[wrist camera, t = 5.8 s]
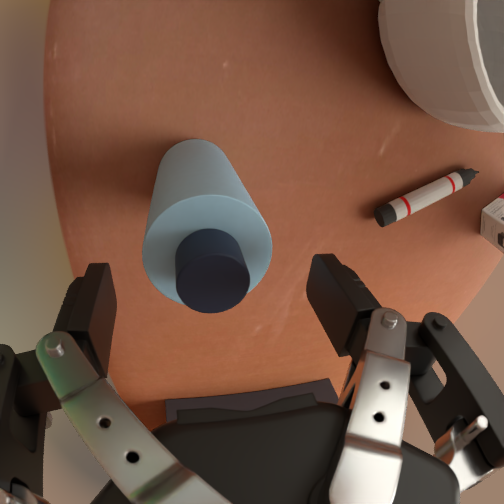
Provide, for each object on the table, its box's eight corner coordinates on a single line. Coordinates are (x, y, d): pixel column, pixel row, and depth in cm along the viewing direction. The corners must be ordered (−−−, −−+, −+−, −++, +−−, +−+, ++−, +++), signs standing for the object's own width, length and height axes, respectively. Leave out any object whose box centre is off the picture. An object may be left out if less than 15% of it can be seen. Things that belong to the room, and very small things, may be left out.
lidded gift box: (174, 434, 43) (180, 479, 36) (165, 399, 37) (169, 454, 30) (311, 415, 49) (327, 454, 42) (329, 378, 43) (350, 423, 35)
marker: (375, 221, 29) (385, 231, 27) (372, 205, 28) (383, 214, 26) (471, 174, 29) (482, 181, 27) (471, 160, 28) (483, 166, 26)
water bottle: (159, 208, 24) (148, 341, 12) (157, 139, 21) (129, 219, 9) (228, 206, 25) (276, 332, 13) (232, 139, 22) (297, 215, 10)
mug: (490, 23, 18) (557, 33, 10) (463, 142, 26) (532, 174, 18) (338, -86, 12) (404, -127, 4) (294, 58, 20) (366, 51, 11)
